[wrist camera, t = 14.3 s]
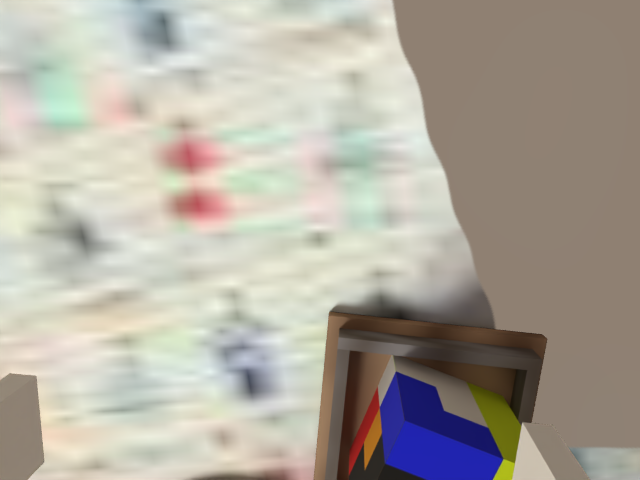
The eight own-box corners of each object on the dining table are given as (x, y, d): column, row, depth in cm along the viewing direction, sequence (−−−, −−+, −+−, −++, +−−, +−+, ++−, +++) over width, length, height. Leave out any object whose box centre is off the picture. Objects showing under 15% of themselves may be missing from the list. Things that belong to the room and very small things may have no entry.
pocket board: (312, 493, 43) (309, 518, 40) (329, 311, 39) (327, 324, 36) (507, 519, 42) (519, 546, 39) (542, 334, 38) (557, 349, 35)
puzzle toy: (392, 353, 38) (404, 420, 29) (502, 395, 38) (553, 478, 29) (349, 450, 40) (347, 544, 31) (454, 491, 40) (485, 598, 31)
